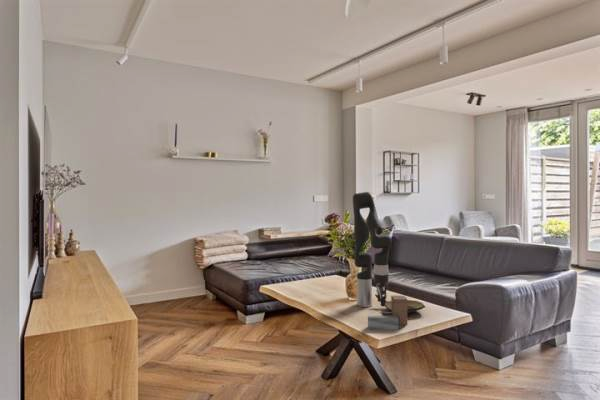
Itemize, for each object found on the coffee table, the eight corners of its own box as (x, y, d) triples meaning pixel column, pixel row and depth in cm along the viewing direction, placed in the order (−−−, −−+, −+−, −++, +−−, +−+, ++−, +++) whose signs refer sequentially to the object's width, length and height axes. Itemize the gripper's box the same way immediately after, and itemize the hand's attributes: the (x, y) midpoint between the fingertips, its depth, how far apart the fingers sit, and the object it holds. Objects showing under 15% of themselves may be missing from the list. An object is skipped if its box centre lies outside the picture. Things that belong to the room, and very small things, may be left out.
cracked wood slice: (405, 320, 218) (405, 307, 218) (369, 307, 244) (369, 295, 244) (433, 314, 230) (433, 301, 229) (396, 302, 255) (396, 290, 255)
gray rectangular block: (367, 327, 209) (367, 315, 209) (398, 326, 209) (398, 315, 209) (369, 329, 205) (368, 317, 205) (399, 329, 205) (399, 317, 205)
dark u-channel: (382, 320, 219) (382, 295, 219) (403, 320, 219) (403, 295, 219) (385, 325, 211) (384, 299, 211) (407, 325, 211) (407, 299, 211)
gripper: (371, 270, 214) (371, 300, 214) (376, 275, 199) (376, 307, 200) (385, 270, 213) (385, 300, 214) (391, 275, 199) (391, 307, 199)
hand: (381, 303), depth 207 cm, fingers open, 8 cm apart
